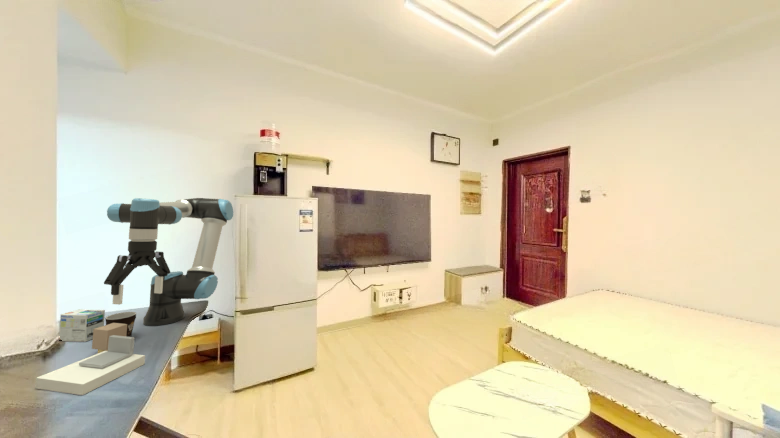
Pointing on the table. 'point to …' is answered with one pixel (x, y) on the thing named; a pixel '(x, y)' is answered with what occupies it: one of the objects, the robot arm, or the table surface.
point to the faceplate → (86, 375)
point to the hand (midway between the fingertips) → (139, 298)
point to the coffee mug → (123, 320)
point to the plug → (107, 335)
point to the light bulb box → (80, 324)
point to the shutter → (112, 352)
